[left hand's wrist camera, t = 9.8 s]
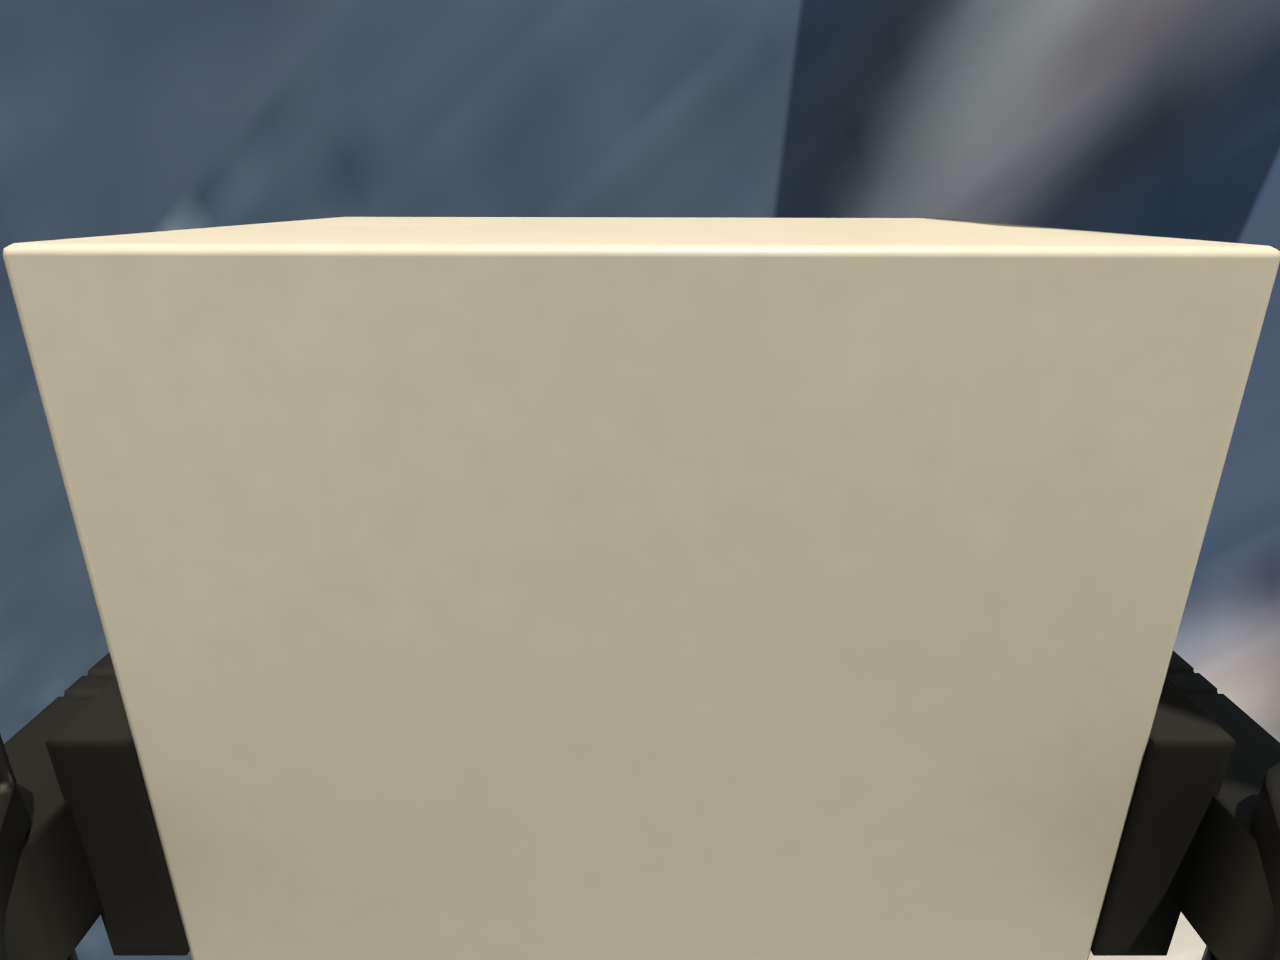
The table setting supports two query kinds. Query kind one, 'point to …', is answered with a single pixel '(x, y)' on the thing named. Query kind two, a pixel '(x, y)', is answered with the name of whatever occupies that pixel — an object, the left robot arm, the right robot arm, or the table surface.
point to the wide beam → (640, 570)
